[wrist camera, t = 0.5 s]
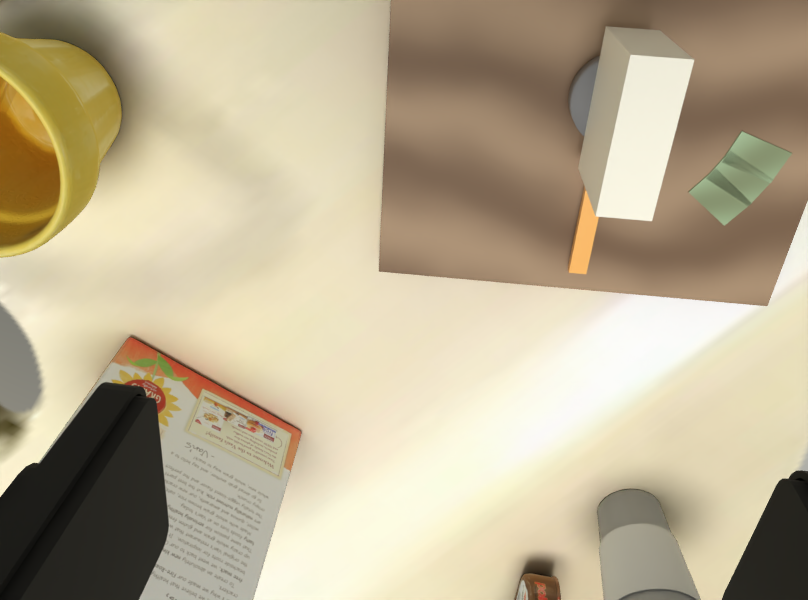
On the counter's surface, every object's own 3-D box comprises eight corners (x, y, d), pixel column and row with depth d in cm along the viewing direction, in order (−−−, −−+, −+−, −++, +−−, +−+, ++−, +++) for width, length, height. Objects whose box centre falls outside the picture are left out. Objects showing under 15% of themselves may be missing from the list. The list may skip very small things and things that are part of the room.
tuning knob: (581, 20, 34) (606, 52, 28) (674, 27, 34) (718, 61, 28) (538, 265, 41) (550, 334, 35) (614, 272, 41) (639, 342, 35)
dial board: (402, -191, 32) (399, -194, 31) (925, -157, 31) (946, -159, 30) (381, 259, 44) (378, 272, 43) (758, 293, 43) (767, 306, 42)
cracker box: (98, 385, 51) (-101, 662, 33) (131, 330, 48) (-66, 600, 31) (265, 476, 55) (166, 771, 37) (305, 430, 52) (219, 724, 34)
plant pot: (-68, 54, 40) (-212, 103, 31) (72, -37, 36) (-46, -9, 28) (55, 210, 44) (-42, 289, 36) (189, 141, 41) (117, 210, 33)
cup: (683, 479, 51) (737, 631, 41) (672, 542, 55) (718, 696, 44) (583, 478, 52) (610, 627, 42) (577, 540, 55) (602, 692, 45)
